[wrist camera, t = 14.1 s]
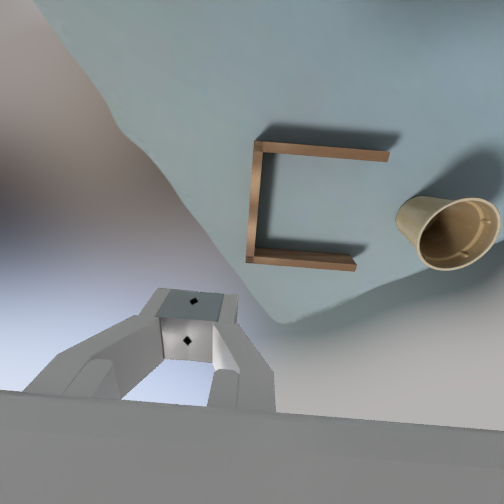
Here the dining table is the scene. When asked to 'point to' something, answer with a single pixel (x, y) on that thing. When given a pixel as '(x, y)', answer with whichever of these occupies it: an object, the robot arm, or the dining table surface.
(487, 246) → the flower pot
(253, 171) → the wooden u-shaped frame
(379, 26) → the dining table surface
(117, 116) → the dining table surface
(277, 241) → the dining table surface
